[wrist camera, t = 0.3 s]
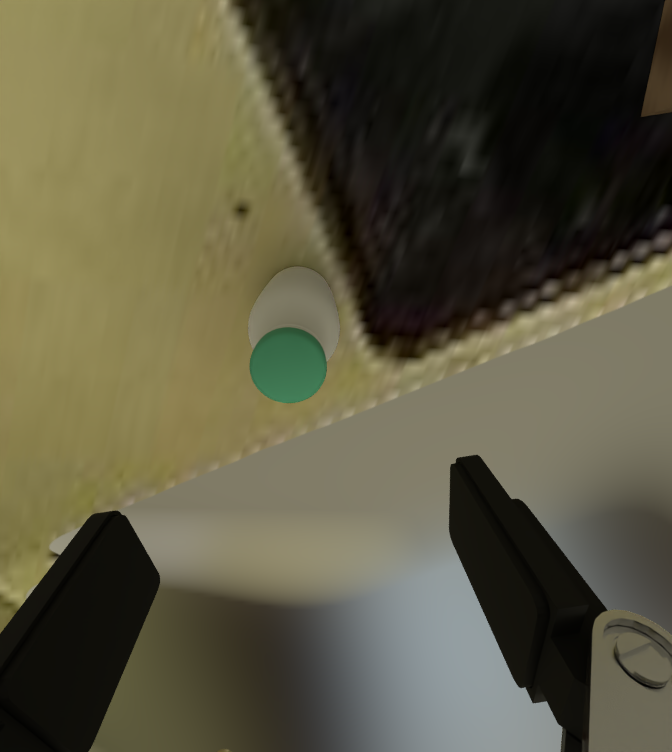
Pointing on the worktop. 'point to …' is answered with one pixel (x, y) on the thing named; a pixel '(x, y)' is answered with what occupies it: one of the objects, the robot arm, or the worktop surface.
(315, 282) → the milk bottle
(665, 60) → the wooden frame
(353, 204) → the worktop surface
